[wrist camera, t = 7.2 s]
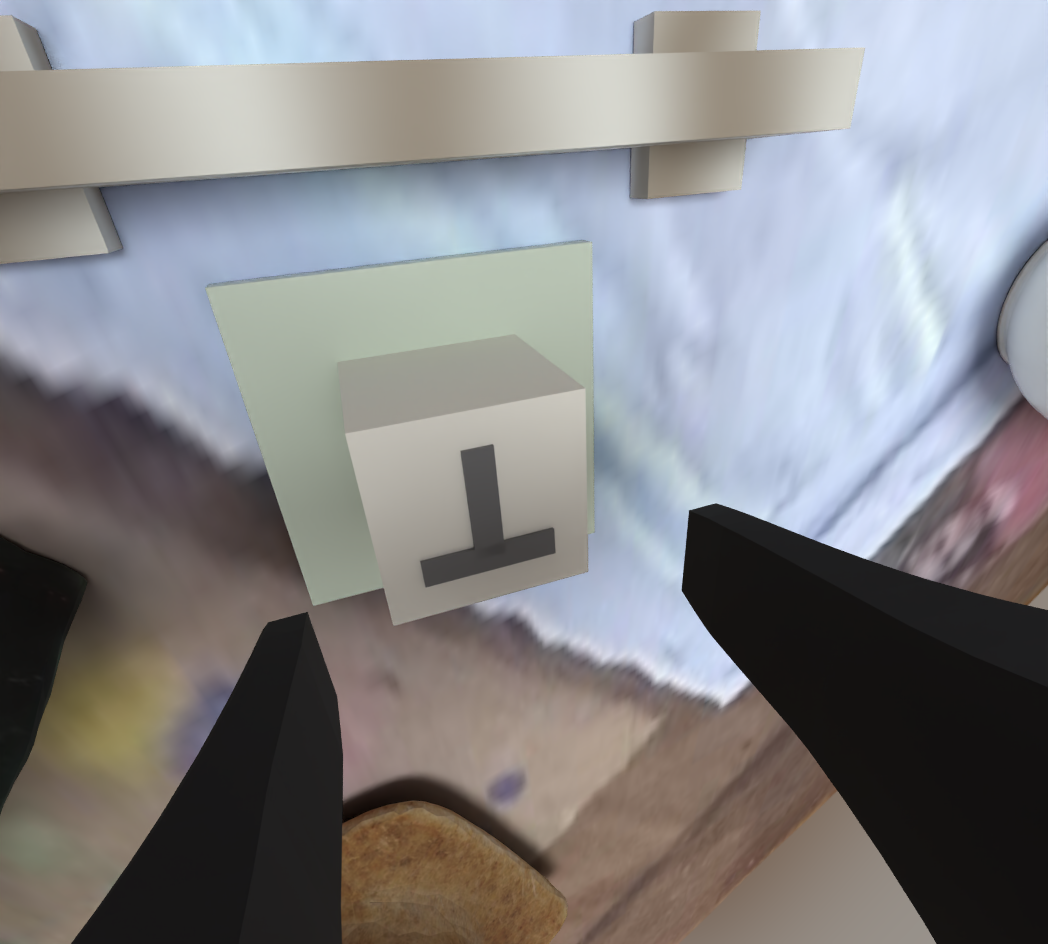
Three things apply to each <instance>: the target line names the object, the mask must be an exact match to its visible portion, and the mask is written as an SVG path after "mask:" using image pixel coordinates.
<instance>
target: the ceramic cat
mask: <svg viewBox="0 0 1048 944" xmlns="http://www.w3.org/2000/svg"><path fill="white" fill-rule="evenodd" d="M86 586H87V581H86V580H85V579H84V578H83V577H82V576H81V575H80V574H78V573H77V572H76V571H74V570H72V569H70V568H68V567H66V566H64V565H62V564H60V563H57V562H54V561H52V560H49V559H47V558H44V557H41V556H38V555H34V554H31V553H28V552H25V551H24V550H22V549H21V548H19V547H18V546H16V545H14V544H12V543H11V542H9V541H7V540H5V539H3V538H1V537H0V814H1V811H2V808H3V805H4V803H5V801H6V799H7V797H8V795H9V793H10V791H11V788H12V786H13V784H14V782H15V780H16V779H17V777H18V775H19V773H20V772H21V770H22V768H23V767H24V765H25V763H26V761H27V759H28V757H29V754H30V752H31V750H32V747H33V745H34V742H35V738H36V734H37V731H38V727H39V724H40V721H41V718H42V715H43V713H44V710H45V707H46V705H47V702H48V700H49V698H50V695H51V691H52V687H53V683H54V679H55V675H56V671H57V667H58V663H59V659H60V656H61V652H62V648H63V644H64V641H65V638H66V636H67V633H68V631H69V628H70V626H71V623H72V621H73V619H74V616H75V614H76V612H77V609H78V607H79V605H80V602H81V600H82V597H83V594H84V591H85V589H86Z"/></svg>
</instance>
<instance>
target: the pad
mask: <svg viewBox="0 0 1048 944" xmlns="http://www.w3.org/2000/svg"><path fill="white" fill-rule="evenodd" d="M205 289H206V292H207V295H208V298H209V301H210V304H211V307H212V310H213V313H214V316H215V319H216V322H217V325H218V327H219V330H220V333H221V336H222V339H223V342H224V345H225V348H226V351H227V354H228V357H229V360H230V363H231V366H232V369H233V371H234V374H235V377H236V380H237V383H238V386H239V389H240V392H241V395H242V398H243V401H244V404H245V407H246V410H247V413H248V416H249V418H250V421H251V424H252V427H253V430H254V433H255V436H256V439H257V442H258V445H259V448H260V451H261V454H262V457H263V460H264V462H265V465H266V468H267V471H268V474H269V477H270V480H271V483H272V486H273V489H274V492H275V495H276V498H277V501H278V504H279V507H280V509H281V512H282V515H283V518H284V521H285V524H286V527H287V530H288V533H289V536H290V539H291V542H292V545H293V548H294V551H295V553H296V556H297V559H298V562H299V565H300V568H301V571H302V574H303V577H304V580H305V583H306V586H307V589H308V592H309V595H310V598H311V600H312V603H313V606H315V605H319V604H323V603H327V602H330V601H334V600H338V599H342V598H346V597H350V596H353V595H357V594H361V593H365V592H369V591H373V590H376V589H380V588H384V587H383V583H382V579H381V575H380V571H379V567H378V563H377V559H376V555H375V551H374V547H373V543H372V539H371V535H370V531H369V527H368V523H367V519H366V515H365V511H364V507H363V503H362V499H361V495H360V491H359V487H358V483H357V480H356V476H355V472H354V468H353V464H352V460H351V456H350V452H349V448H348V444H347V440H346V436H345V429H344V420H343V411H342V402H341V393H340V383H339V374H338V365H337V362H341V361H347V360H354V359H360V358H366V357H373V356H379V355H386V354H392V353H398V352H405V351H411V350H417V349H424V348H430V347H436V346H443V345H449V344H455V343H462V342H468V341H474V340H481V339H487V338H493V337H500V336H506V335H512V334H515V335H516V336H518V337H519V338H520V339H522V340H523V341H524V342H526V343H527V344H528V345H530V346H531V347H532V348H533V349H535V350H536V351H537V352H539V353H540V354H541V355H543V356H544V357H545V358H546V359H548V360H549V361H550V362H552V363H553V364H554V365H556V366H557V367H558V368H560V369H561V370H562V371H563V372H565V373H566V374H567V375H569V376H570V377H571V378H573V379H574V380H575V381H577V382H578V383H579V384H580V385H582V386H583V387H584V388H585V392H586V458H587V524H588V534H591V533H594V412H593V290H592V242H590V241H586V240H580V241H571V242H563V243H554V244H545V245H537V246H528V247H520V248H511V249H503V250H494V251H486V252H477V253H469V254H460V255H452V256H443V257H435V258H426V259H418V260H409V261H401V262H392V263H384V264H375V265H367V266H358V267H350V268H341V269H333V270H324V271H316V272H307V273H299V274H290V275H282V276H273V277H264V278H256V279H247V280H239V281H230V282H222V283H213V284H209V285H208V286H207V287H205Z"/></svg>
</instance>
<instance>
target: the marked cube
mask: <svg viewBox="0 0 1048 944" xmlns="http://www.w3.org/2000/svg"><path fill="white" fill-rule="evenodd" d="M337 365H338V374H339V383H340V393H341V402H342V411H343V420H344V429H345V436H346V440H347V444H348V448H349V452H350V456H351V460H352V464H353V468H354V472H355V476H356V480H357V483H358V487H359V491H360V495H361V499H362V503H363V507H364V511H365V515H366V519H367V523H368V527H369V531H370V535H371V539H372V543H373V547H374V551H375V555H376V559H377V563H378V567H379V571H380V575H381V579H382V583H383V587H384V591H385V595H386V599H387V603H388V607H389V611H390V615H391V619H392V623H393V626H396V625H399V624H403V623H406V622H410V621H414V620H417V619H421V618H424V617H428V616H431V615H435V614H439V613H442V612H446V611H449V610H453V609H457V608H460V607H464V606H467V605H471V604H474V603H478V602H482V601H485V600H489V599H492V598H496V597H499V596H503V595H507V594H510V593H514V592H517V591H521V590H525V589H528V588H532V587H535V586H539V585H542V584H546V583H550V582H553V581H557V580H560V579H564V578H568V577H571V576H575V575H578V574H582V573H585V572H588V524H587V458H586V392H585V388H584V387H583V386H582V385H580V384H579V383H578V382H577V381H575V380H574V379H573V378H571V377H570V376H569V375H567V374H566V373H565V372H563V371H562V370H561V369H560V368H558V367H557V366H556V365H554V364H553V363H552V362H550V361H549V360H548V359H546V358H545V357H544V356H543V355H541V354H540V353H539V352H537V351H536V350H535V349H533V348H532V347H531V346H530V345H528V344H527V343H526V342H524V341H523V340H522V339H520V338H519V337H518V336H516V335H515V334H512V335H506V336H500V337H493V338H487V339H481V340H474V341H468V342H462V343H455V344H449V345H443V346H436V347H430V348H424V349H417V350H411V351H405V352H398V353H392V354H386V355H379V356H373V357H366V358H360V359H354V360H347V361H341V362H337Z"/></svg>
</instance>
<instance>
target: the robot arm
mask: <svg viewBox="0 0 1048 944" xmlns="http://www.w3.org/2000/svg"><path fill="white" fill-rule="evenodd" d="M682 592H683V593H684V595H685V597H686V598H687V600H688V601H689V603H690V605H691V606H692V608H693V609H694V611H695V612H696V614H697V616H698V617H699V618H700V620H701V621H702V623H703V624H704V626H705V627H706V629H707V630H708V632H709V633H710V634H711V636H712V637H713V638H714V639H715V640H716V642H717V643H718V644H719V645H720V646H721V648H722V649H723V650H724V651H725V652H726V653H727V655H728V656H729V657H730V658H731V659H732V660H733V662H734V663H735V664H736V665H737V666H738V667H739V669H740V670H741V671H742V672H743V673H744V674H745V676H746V677H747V678H748V679H749V680H750V681H751V682H752V684H753V685H754V686H755V687H756V688H757V689H758V691H759V692H760V693H761V694H762V695H763V696H764V697H765V699H766V700H767V701H768V702H769V703H770V704H771V706H772V707H773V708H774V709H775V710H776V711H777V712H778V714H779V715H780V716H781V717H782V718H783V719H784V721H785V722H786V723H787V724H788V725H789V726H790V728H791V729H792V730H793V731H794V733H795V734H796V735H797V736H798V737H799V739H800V740H801V741H802V742H803V744H804V745H805V746H806V747H807V749H808V750H809V751H810V753H811V754H812V756H813V757H814V758H815V760H816V761H817V763H818V764H819V765H820V767H821V768H822V770H823V771H824V772H825V774H826V775H827V777H828V778H829V779H830V781H831V782H832V784H833V785H834V786H835V788H836V789H837V791H838V792H839V793H840V795H841V796H842V797H843V799H844V800H845V802H846V803H847V805H848V806H849V808H850V809H851V811H852V812H853V814H854V815H855V817H856V818H857V819H858V821H859V823H860V824H861V826H862V827H863V828H864V830H865V831H866V833H867V834H868V836H869V837H870V839H871V840H872V842H873V843H874V845H875V846H876V848H877V849H878V850H879V852H880V854H881V855H882V857H883V858H884V860H885V861H886V863H887V865H888V866H889V868H890V869H891V871H892V872H893V874H894V876H895V877H896V879H897V880H898V882H899V884H900V885H901V886H902V888H903V890H904V892H905V893H906V894H907V896H908V898H909V899H910V901H911V903H912V904H913V906H914V907H915V909H916V910H917V912H918V914H919V915H920V917H921V918H922V920H923V921H924V923H925V925H926V926H927V928H928V930H929V932H930V933H931V935H932V937H933V938H934V940H935V942H936V944H1048V610H1045V609H1040V608H1036V607H1031V606H1027V605H1022V604H1018V603H1013V602H1009V601H1005V600H1001V599H997V598H993V597H989V596H985V595H981V594H977V593H973V592H970V591H966V590H963V589H959V588H956V587H952V586H948V585H945V584H941V583H938V582H934V581H931V580H927V579H924V578H921V577H918V576H914V575H911V574H908V573H905V572H902V571H899V570H896V569H893V568H890V567H887V566H884V565H881V564H878V563H875V562H872V561H869V560H866V559H863V558H861V557H858V556H855V555H852V554H850V553H847V552H844V551H841V550H839V549H836V548H833V547H831V546H828V545H825V544H823V543H820V542H818V541H815V540H812V539H810V538H807V537H805V536H802V535H800V534H797V533H794V532H792V531H789V530H787V529H784V528H782V527H779V526H777V525H774V524H772V523H769V522H767V521H764V520H761V519H759V518H756V517H754V516H751V515H748V514H746V513H743V512H740V511H737V510H735V509H732V508H729V507H726V506H723V505H719V504H712V505H708V506H704V507H701V508H697V509H693V510H689V518H688V529H687V539H686V550H685V561H684V571H683V582H682ZM342 808H343V750H342V740H341V729H340V720H339V711H338V701H337V695H336V692H335V689H334V686H333V683H332V681H331V678H330V675H329V672H328V669H327V666H326V664H325V661H324V658H323V655H322V652H321V649H320V646H319V644H318V641H317V638H316V635H315V632H314V629H313V626H312V624H311V621H310V618H309V615H308V612H306V613H302V614H298V615H294V616H291V617H287V618H283V619H279V620H276V621H272V622H268V624H267V625H266V626H265V628H264V629H263V631H262V633H261V635H260V637H259V639H258V641H257V643H256V645H255V647H254V650H253V652H252V654H251V656H250V658H249V660H248V662H247V664H246V666H245V668H244V670H243V672H242V674H241V676H240V678H239V680H238V682H237V684H236V686H235V688H234V690H233V692H232V694H231V695H230V697H229V699H228V701H227V703H226V705H225V707H224V708H223V710H222V712H221V714H220V716H219V718H218V719H217V721H216V723H215V725H214V727H213V729H212V730H211V732H210V734H209V736H208V738H207V739H206V741H205V743H204V745H203V747H202V748H201V750H200V752H199V754H198V755H197V757H196V759H195V760H194V762H193V764H192V765H191V767H190V768H189V770H188V772H187V773H186V775H185V777H184V778H183V780H182V782H181V783H180V785H179V787H178V788H177V790H176V791H175V793H174V795H173V796H172V798H171V800H170V801H169V803H168V805H167V806H166V808H165V809H164V811H163V813H162V814H161V816H160V817H159V819H158V821H157V822H156V824H155V825H154V827H153V828H152V830H151V831H150V833H149V834H148V836H147V837H146V839H145V840H144V842H143V843H142V845H141V846H140V848H139V849H138V851H137V852H136V854H135V855H134V857H133V858H132V860H131V861H130V863H129V864H128V866H127V867H126V868H125V870H124V871H123V873H122V874H121V876H120V877H119V878H118V880H117V881H116V883H115V884H114V886H113V887H112V888H111V890H110V891H109V893H108V894H107V896H106V897H105V898H104V900H103V901H102V903H101V904H100V905H99V907H98V908H97V910H96V911H95V912H94V914H93V915H92V916H91V918H90V919H89V920H88V922H87V923H86V924H85V926H84V927H83V928H82V930H81V931H80V932H79V934H78V935H77V936H76V938H75V939H74V940H73V942H72V943H71V944H342V923H341V877H342Z"/></svg>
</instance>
